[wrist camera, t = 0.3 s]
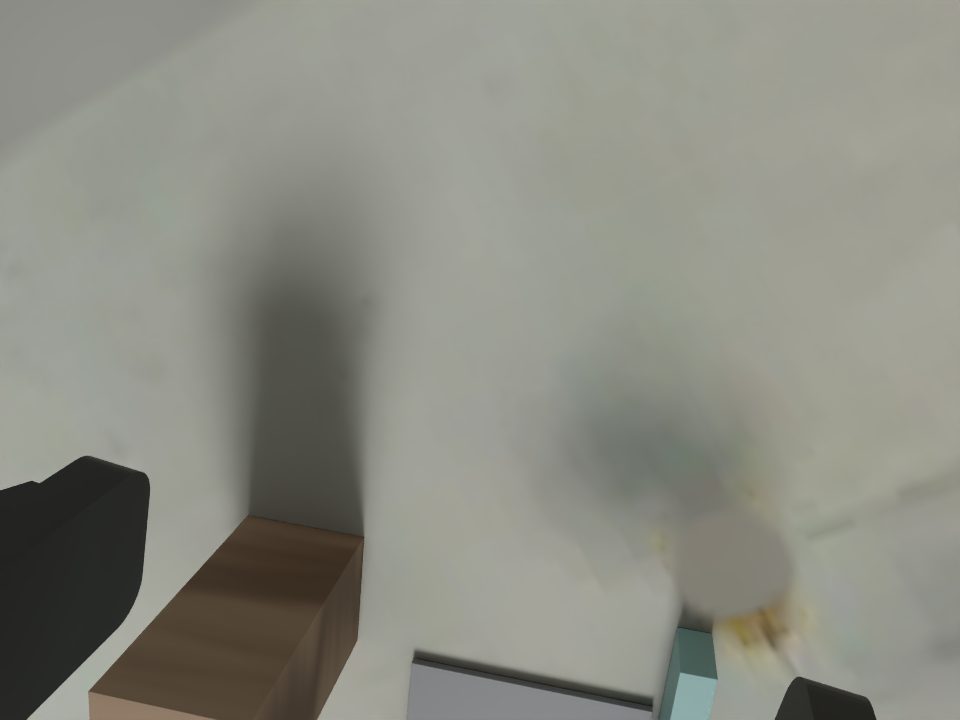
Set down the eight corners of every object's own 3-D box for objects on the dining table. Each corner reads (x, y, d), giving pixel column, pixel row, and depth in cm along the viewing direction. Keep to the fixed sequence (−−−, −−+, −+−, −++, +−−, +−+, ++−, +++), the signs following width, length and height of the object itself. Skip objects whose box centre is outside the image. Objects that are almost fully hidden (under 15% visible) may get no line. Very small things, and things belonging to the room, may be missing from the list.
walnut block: (247, 515, 33) (88, 691, 23) (364, 537, 32) (248, 726, 23) (245, 618, 34) (95, 822, 25) (357, 640, 33) (245, 859, 24)
